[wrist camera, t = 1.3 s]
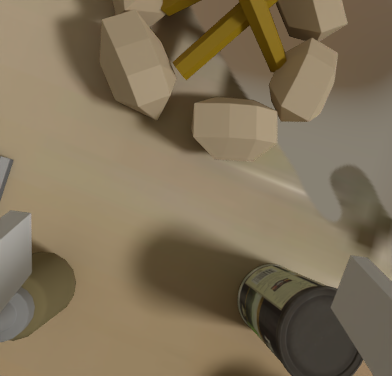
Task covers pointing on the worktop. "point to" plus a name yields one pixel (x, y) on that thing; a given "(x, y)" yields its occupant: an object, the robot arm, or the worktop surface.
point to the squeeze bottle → (38, 297)
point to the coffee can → (297, 322)
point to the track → (4, 172)
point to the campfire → (206, 49)
